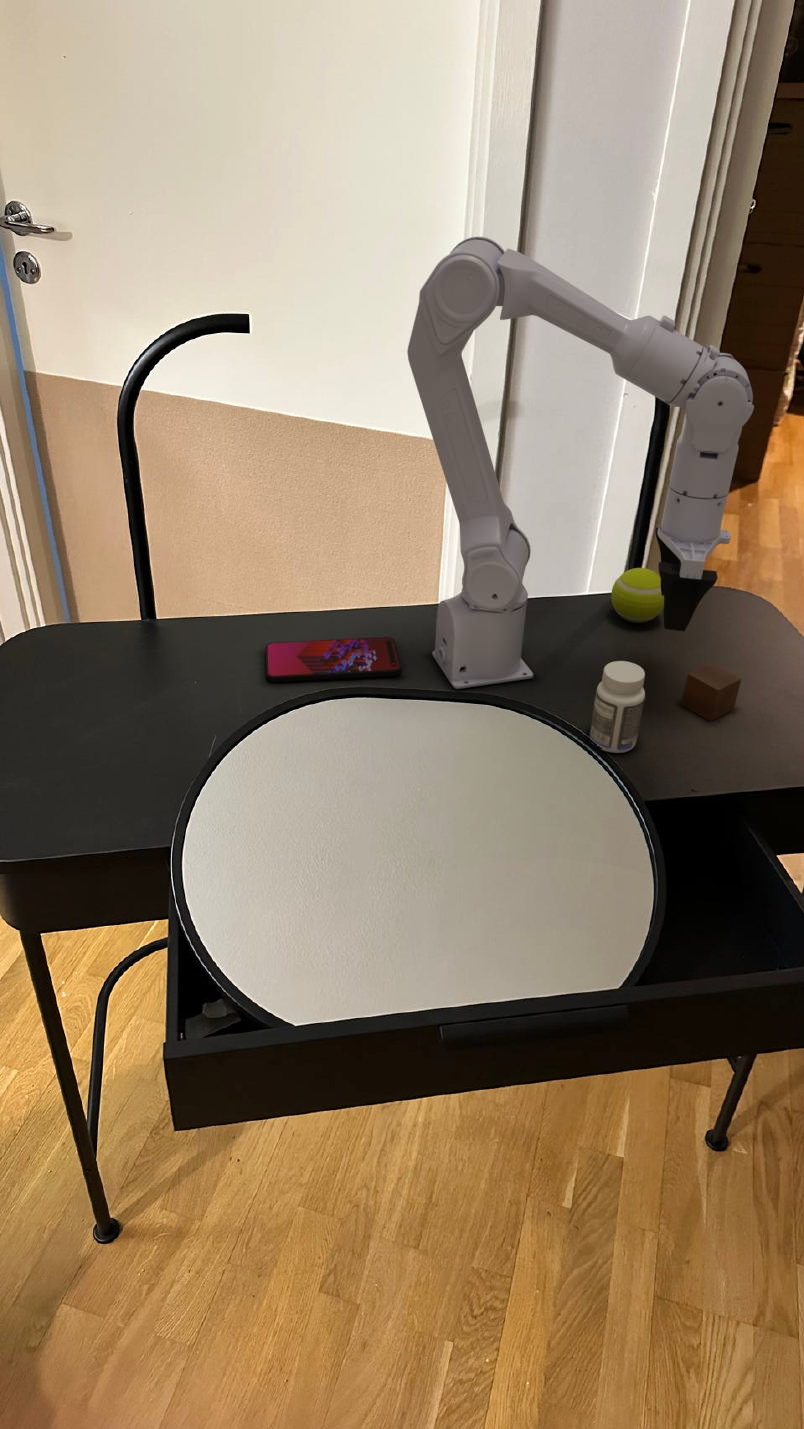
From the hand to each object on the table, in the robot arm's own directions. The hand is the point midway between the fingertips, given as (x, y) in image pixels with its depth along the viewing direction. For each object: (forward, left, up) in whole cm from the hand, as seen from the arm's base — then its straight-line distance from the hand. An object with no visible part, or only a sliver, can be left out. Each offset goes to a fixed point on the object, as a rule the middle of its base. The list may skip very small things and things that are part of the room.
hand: (672, 611), depth 104 cm
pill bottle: (-10, -8, -10) cm, 16 cm away
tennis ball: (+5, +15, -10) cm, 19 cm away
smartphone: (-34, +14, -10) cm, 38 cm away
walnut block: (+3, -5, -10) cm, 11 cm away
